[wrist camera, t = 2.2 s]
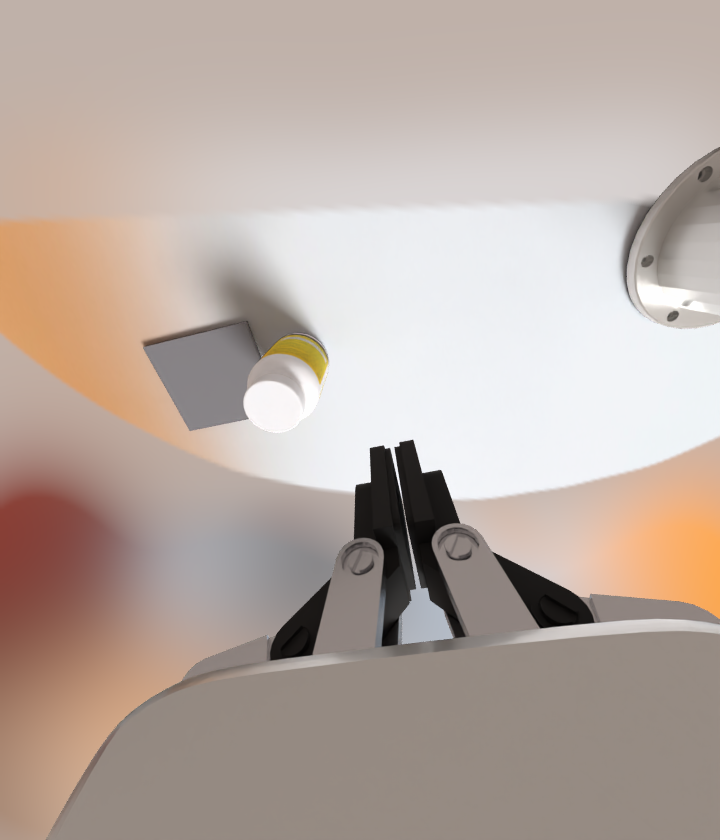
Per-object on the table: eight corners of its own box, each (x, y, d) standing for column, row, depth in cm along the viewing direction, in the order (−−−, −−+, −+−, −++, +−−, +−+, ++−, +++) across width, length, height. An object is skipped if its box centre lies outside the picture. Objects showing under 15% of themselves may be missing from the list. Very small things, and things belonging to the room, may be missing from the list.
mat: (247, 321, 28) (245, 322, 28) (281, 410, 32) (280, 412, 32) (146, 346, 29) (142, 347, 29) (192, 428, 33) (189, 430, 33)
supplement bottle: (272, 327, 28) (230, 362, 20) (332, 336, 29) (317, 375, 20) (271, 383, 31) (234, 436, 22) (326, 391, 31) (311, 446, 23)
